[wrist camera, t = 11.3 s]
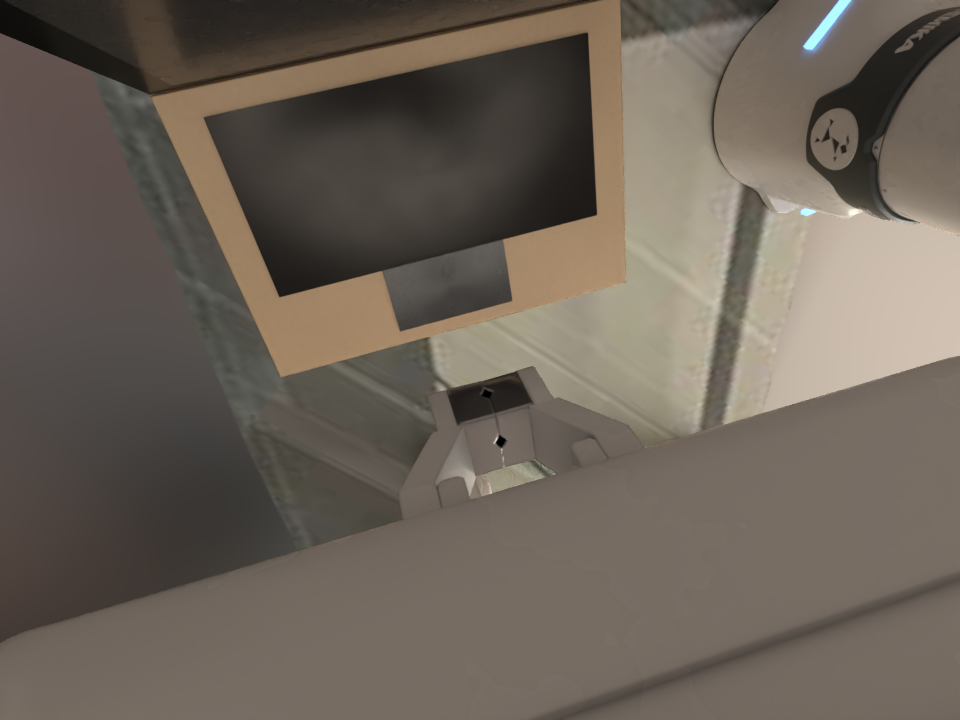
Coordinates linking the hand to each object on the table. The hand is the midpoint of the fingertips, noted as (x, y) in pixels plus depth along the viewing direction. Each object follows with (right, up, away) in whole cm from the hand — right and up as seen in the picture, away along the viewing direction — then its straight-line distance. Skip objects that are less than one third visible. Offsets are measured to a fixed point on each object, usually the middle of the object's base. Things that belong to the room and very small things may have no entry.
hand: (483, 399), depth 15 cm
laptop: (-4, +13, +27) cm, 30 cm away
